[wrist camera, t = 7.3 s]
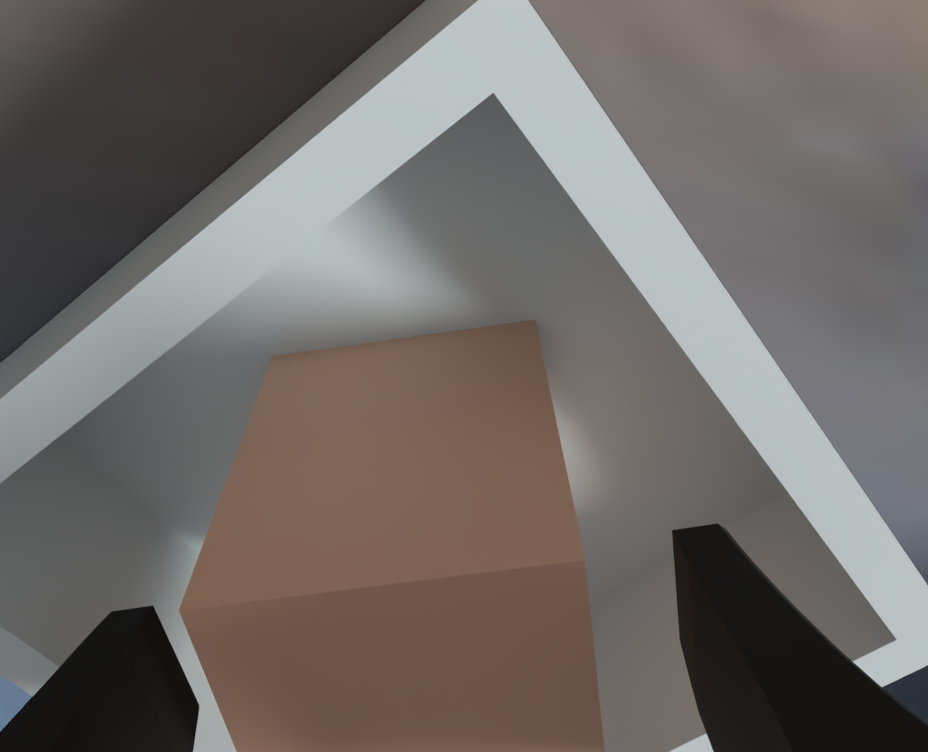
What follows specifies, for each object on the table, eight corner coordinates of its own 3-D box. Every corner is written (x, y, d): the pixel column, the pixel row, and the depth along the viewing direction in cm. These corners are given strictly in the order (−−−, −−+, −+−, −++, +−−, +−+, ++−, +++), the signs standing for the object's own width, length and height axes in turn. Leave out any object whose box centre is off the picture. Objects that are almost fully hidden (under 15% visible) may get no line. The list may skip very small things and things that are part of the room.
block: (559, 529, 17) (611, 819, 12) (329, 557, 17) (278, 855, 12) (535, 319, 15) (584, 559, 9) (272, 356, 15) (178, 610, 10)
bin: (390, 726, 20) (377, 927, 16) (-27, 386, 16) (-184, 551, 12) (848, 470, 17) (968, 645, 13) (489, -55, 12) (510, -27, 9)
